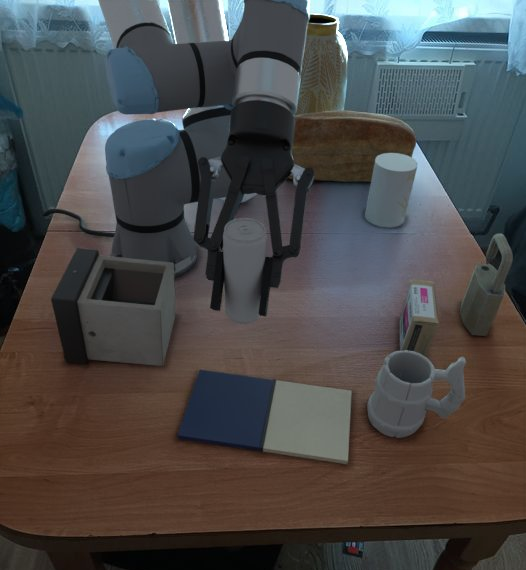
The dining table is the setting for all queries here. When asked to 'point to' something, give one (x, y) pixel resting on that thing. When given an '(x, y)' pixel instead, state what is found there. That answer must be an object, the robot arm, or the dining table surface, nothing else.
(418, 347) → the ink box
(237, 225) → the beverage can
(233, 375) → the board
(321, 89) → the vase
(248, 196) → the geodesic sphere
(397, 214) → the white cylinder
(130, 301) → the grey open box
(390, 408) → the mug
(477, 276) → the padlock
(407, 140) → the bread
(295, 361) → the dining table surface
